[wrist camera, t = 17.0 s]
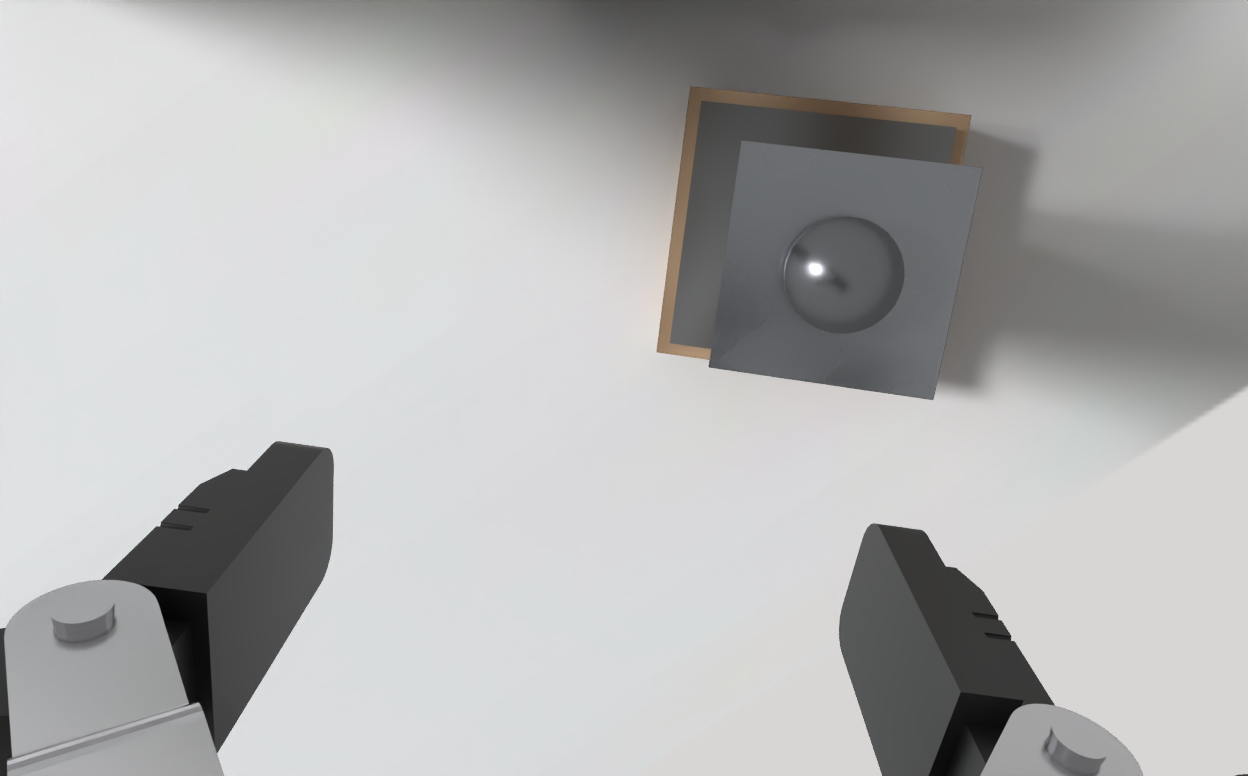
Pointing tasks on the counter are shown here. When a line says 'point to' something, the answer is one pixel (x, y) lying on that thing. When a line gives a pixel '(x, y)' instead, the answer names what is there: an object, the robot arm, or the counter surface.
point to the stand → (713, 171)
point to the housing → (842, 267)
